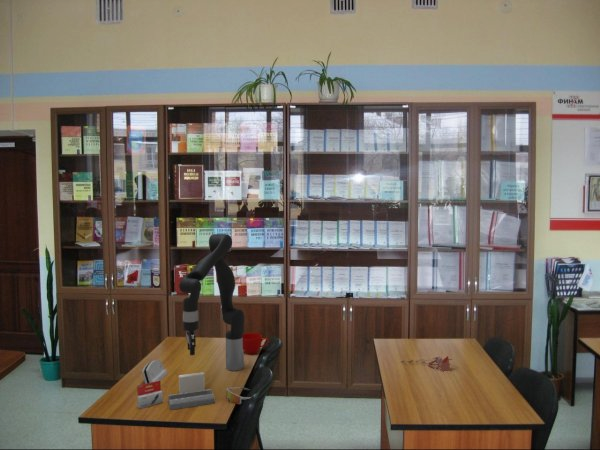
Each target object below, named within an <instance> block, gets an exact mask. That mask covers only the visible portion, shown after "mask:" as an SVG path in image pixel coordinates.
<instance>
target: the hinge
mask: <svg viewBox="0 0 600 450" xmlns="http://www.w3.org/2000/svg"><path fill="white" fill-rule="evenodd" d="M142 368H143V369H142V371H141V374H142V377H143V381H144V384H148V383H152V382H156V381H160V382H161V381H162V380H163V379H164V377H166V375H168V370H167V369H166V368H165V367H164V365H163V364H162V361H161V360H160V359H155V360H152V361H149V362H148V363H147V364H145V365H144V367H142Z"/></svg>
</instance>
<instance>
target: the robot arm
mask: <svg viewBox="0 0 600 450" xmlns="http://www.w3.org/2000/svg"><path fill="white" fill-rule="evenodd" d="M232 246H233V238H232V237H231V236H230V235H229V234H227V233H221V234H220V233H214V234H211V235H210V236H209V239H208V247H209V251H210V253H209V254H207V255H206V256H204V257H203V258H201V259H200V260H199V261H198V263H196V265H195V267H193V269H192V270H191V271H190V272H188V273H187V274H186V275H184V276H183V277H182V278H181V280H180V282H179V284H178V288H179V291H181V292H182V293H183V294H184V293H186V294H189V297H185V298H184V299H183V300H182V330H183V331H186V332H185V334H186V342H187V350H188V351H189V356H195V355H196V352H195V351H196V349H195V348H196V347H197V345H196V342H197V340H196V336H197V335H196V332H195V331H197V330H199V328H200V323H199V322H200V321H199V300H200V299H199V298H200V295H201V290H202V283H201V281H203V280H204V279H205V278H206V277H207V275H208V274H209V272H210V271H211V270H212V268H213V267H214V270H215V274H216V280H217V281H216V282H217V286H218V291H219V297H220V304H221V305H220V306H221V317H222V321H223V323H225V324H227V325H230V329H229V330H228V331H226V332H225V369H226V370H227V371H230V372H234V371H235V372H236V371H240V370H243V369H245V367H244V366H245V351H244V350H243V334H244V332H245V313H244V311H243V310H242V309H240V308H237V307H234V304H233V294H234V292H235V288H236V279H235V274H234V271H233V270H232V268H231V266H230V265H229V264H228V263H227V261H226V260H225V258H224V256H225V255H226V254H227V253H228V252H229V251H230V250H231V248H232Z"/></svg>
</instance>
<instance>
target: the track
mask: <svg viewBox="0 0 600 450" xmlns="http://www.w3.org/2000/svg"><path fill="white" fill-rule="evenodd" d="M167 397H168V398H167V402H168V406H169V410H170V411H173V410H180V409H185V408H192V407H199V406H200V407H201V406H205V405H212V404H216V401H215V393H213V389H212V388H209V389H205V390H201V391H193V392H186V393H179V392H178V393H175V394H174V393H172V394H168V395H167Z"/></svg>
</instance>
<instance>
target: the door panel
mask: <svg viewBox="0 0 600 450" xmlns="http://www.w3.org/2000/svg"><path fill="white" fill-rule="evenodd" d="M205 377H206V376H205V372H203V371H201V372H194V373H186V374H180V375H178V391H179V392H178V394H179V393H186V392H192V391H199V390H206V387H205V386H206V385H205V382H206V380H205Z"/></svg>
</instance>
